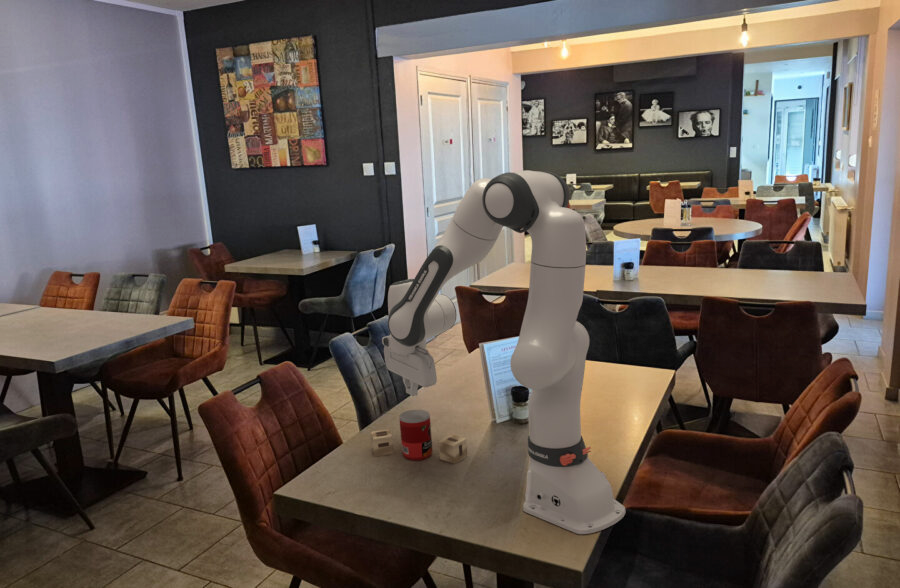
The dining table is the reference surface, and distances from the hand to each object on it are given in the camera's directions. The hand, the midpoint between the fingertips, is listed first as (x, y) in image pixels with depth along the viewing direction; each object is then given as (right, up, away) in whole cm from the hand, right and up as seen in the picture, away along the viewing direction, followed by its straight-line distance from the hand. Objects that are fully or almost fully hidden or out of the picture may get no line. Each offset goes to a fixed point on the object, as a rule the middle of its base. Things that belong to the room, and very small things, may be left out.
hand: (412, 394), depth 167 cm
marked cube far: (-8, -16, +7) cm, 19 cm away
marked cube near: (+11, -16, 0) cm, 20 cm away
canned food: (+1, -16, +3) cm, 17 cm away
